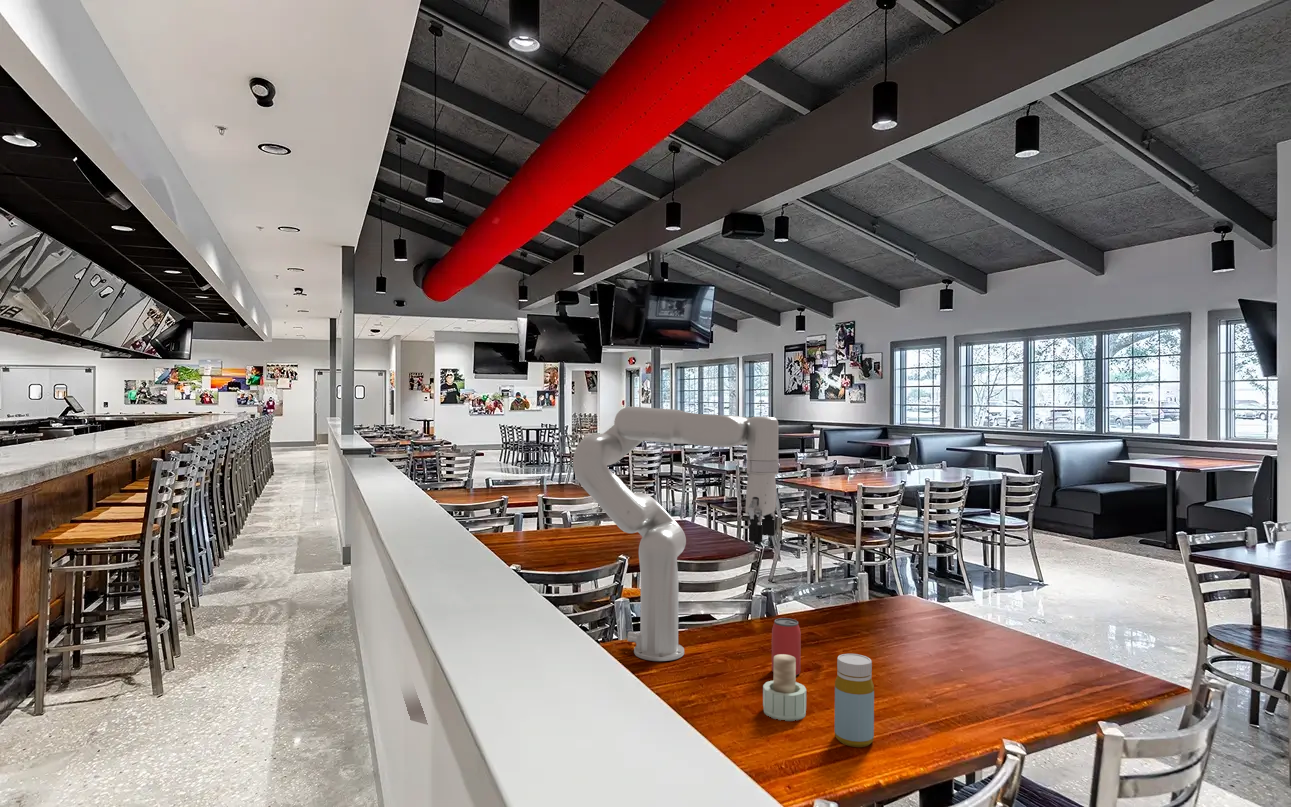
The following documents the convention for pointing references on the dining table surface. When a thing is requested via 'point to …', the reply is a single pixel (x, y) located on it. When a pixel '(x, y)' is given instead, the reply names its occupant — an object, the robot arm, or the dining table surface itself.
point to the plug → (784, 673)
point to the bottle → (854, 701)
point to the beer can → (786, 640)
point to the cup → (784, 703)
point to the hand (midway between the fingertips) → (762, 538)
